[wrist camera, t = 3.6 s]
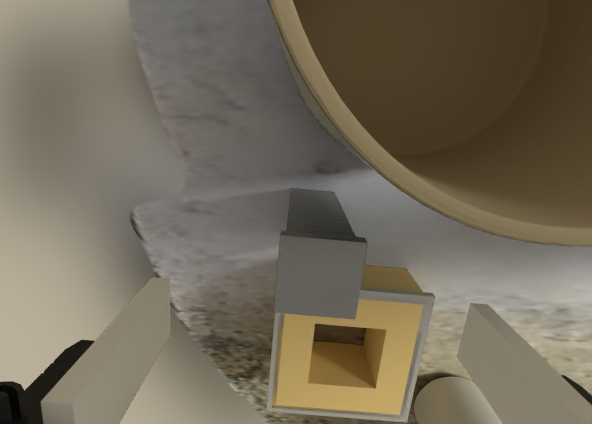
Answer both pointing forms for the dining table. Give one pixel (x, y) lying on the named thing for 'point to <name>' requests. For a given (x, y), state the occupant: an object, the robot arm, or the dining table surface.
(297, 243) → the wedge pin
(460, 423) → the can
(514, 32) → the planter
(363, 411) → the tan hollow block
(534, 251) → the dining table surface
